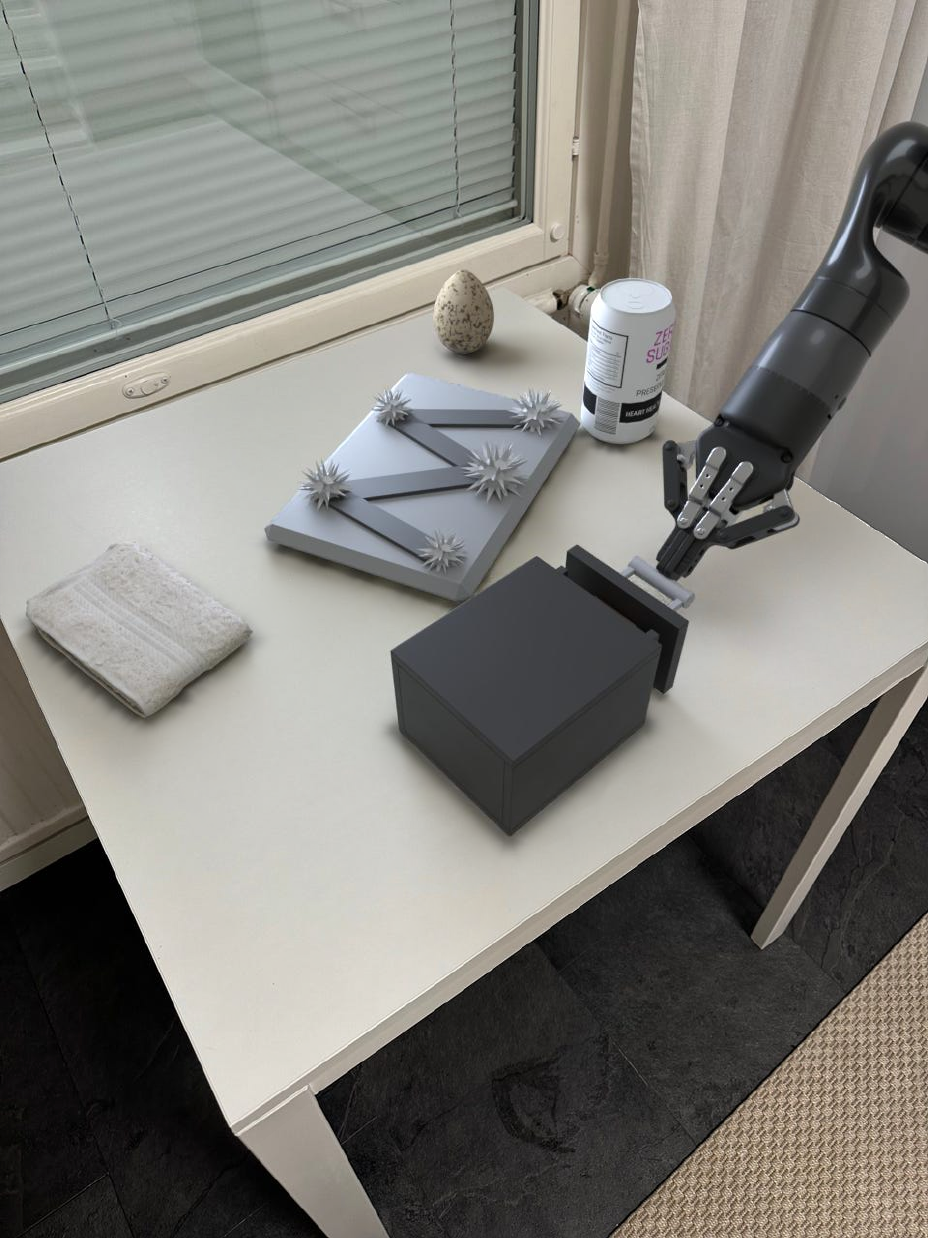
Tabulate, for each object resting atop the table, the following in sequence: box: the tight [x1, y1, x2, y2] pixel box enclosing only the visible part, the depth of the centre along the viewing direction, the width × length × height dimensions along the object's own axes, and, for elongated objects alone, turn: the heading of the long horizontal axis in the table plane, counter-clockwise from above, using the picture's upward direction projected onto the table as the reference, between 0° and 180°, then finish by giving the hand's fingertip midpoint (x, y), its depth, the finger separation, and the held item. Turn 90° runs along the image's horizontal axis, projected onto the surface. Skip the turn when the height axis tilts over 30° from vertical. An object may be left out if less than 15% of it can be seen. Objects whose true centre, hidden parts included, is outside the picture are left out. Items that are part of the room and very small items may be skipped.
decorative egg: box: [432, 269, 495, 355], centre depth 104 cm, size 7×7×10 cm
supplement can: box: [580, 277, 677, 445], centre depth 92 cm, size 8×8×15 cm
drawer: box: [555, 544, 696, 695], centre depth 70 cm, size 18×11×8 cm, turn 132°
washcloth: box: [25, 540, 254, 718], centre depth 76 cm, size 12×18×3 cm, turn 52°
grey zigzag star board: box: [263, 372, 581, 603], centre depth 88 cm, size 30×22×7 cm
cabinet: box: [389, 555, 662, 837], centre depth 66 cm, size 15×13×10 cm
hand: (666, 575), depth 73 cm, fingers closed
